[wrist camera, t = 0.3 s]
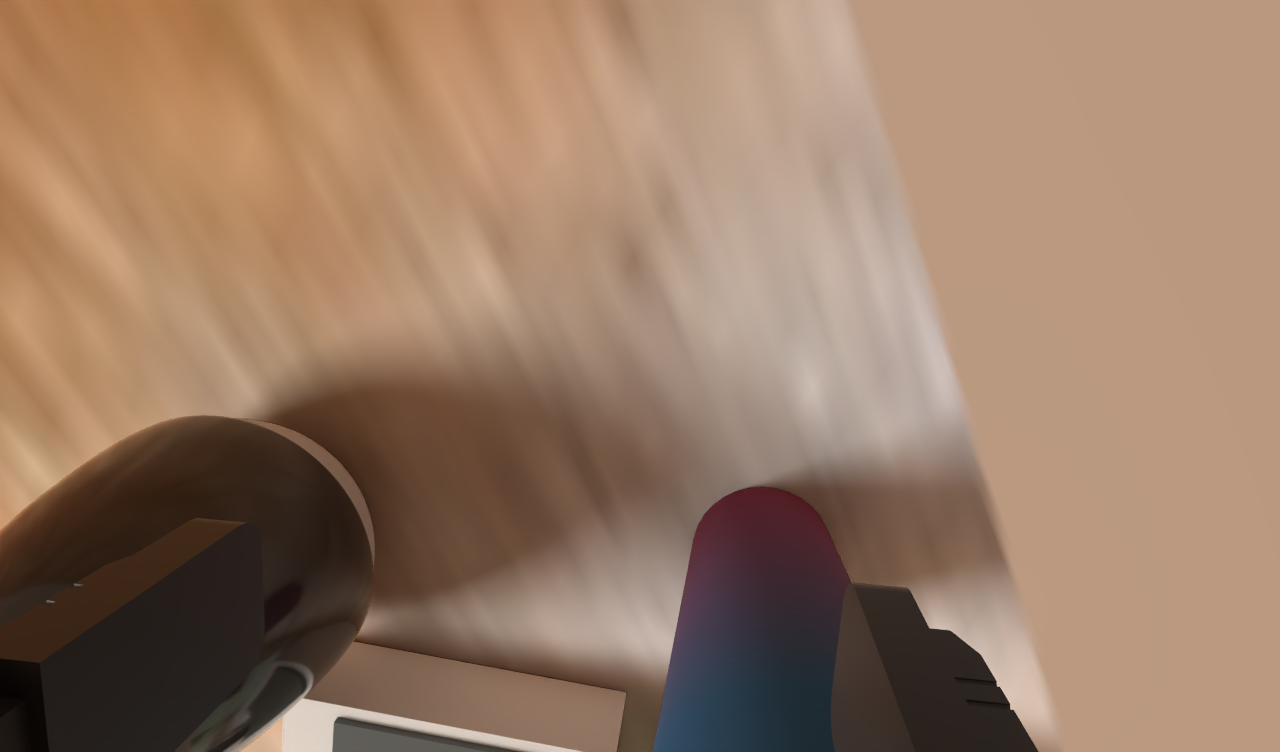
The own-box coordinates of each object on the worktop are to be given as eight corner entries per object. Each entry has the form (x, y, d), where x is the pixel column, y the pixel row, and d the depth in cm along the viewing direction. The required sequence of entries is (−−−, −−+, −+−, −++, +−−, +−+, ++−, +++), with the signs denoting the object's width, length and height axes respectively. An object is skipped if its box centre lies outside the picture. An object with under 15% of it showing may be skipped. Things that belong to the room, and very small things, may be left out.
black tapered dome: (310, 679, 33) (-13, 1096, 18) (107, 508, 32) (-413, 808, 17) (471, 520, 30) (246, 856, 16) (257, 328, 29) (-201, 498, 15)
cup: (638, 502, 30) (566, 829, 15) (816, 435, 28) (920, 723, 14) (711, 655, 31) (707, 1088, 17) (882, 598, 30) (1041, 1014, 15)
